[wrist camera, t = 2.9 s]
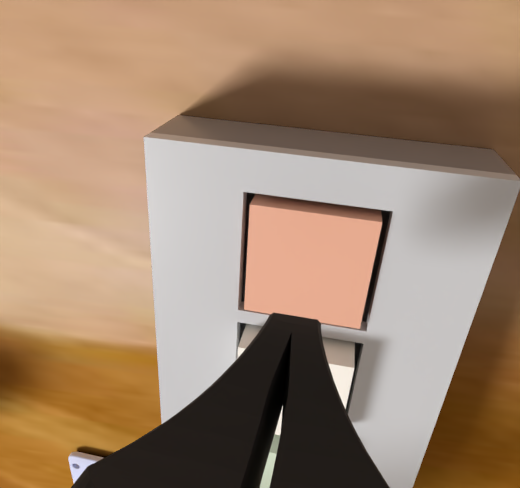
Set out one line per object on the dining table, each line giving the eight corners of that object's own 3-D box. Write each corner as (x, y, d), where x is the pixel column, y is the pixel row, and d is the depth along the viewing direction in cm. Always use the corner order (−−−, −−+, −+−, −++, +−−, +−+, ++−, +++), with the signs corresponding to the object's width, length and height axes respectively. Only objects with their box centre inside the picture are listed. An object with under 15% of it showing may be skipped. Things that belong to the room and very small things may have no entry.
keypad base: (389, 479, 26) (393, 541, 23) (186, 436, 27) (165, 489, 24) (493, 149, 17) (522, 181, 14) (178, 114, 18) (143, 137, 15)
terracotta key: (359, 295, 19) (359, 329, 17) (255, 279, 19) (243, 309, 17) (379, 197, 17) (382, 222, 15) (261, 182, 17) (249, 204, 15)
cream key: (339, 406, 21) (337, 447, 19) (245, 388, 21) (234, 426, 19) (354, 330, 19) (354, 368, 17) (250, 312, 19) (237, 347, 17)
